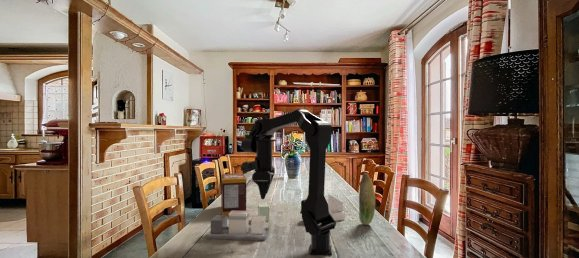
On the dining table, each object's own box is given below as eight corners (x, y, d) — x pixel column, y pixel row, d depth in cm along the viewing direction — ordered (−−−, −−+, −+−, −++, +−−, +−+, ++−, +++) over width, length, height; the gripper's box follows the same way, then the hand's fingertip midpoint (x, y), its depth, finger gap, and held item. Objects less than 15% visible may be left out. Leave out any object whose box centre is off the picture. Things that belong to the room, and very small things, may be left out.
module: (246, 234, 100) (246, 214, 100) (228, 234, 100) (228, 213, 100) (248, 230, 104) (248, 210, 104) (231, 230, 104) (231, 210, 104)
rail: (265, 240, 97) (265, 222, 97) (206, 238, 98) (206, 221, 98) (268, 231, 105) (268, 215, 105) (214, 230, 106) (214, 214, 106)
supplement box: (242, 205, 142) (243, 173, 142) (246, 214, 127) (246, 178, 127) (221, 206, 140) (221, 173, 140) (222, 215, 125) (222, 179, 125)
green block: (269, 221, 117) (269, 206, 117) (259, 221, 117) (259, 207, 117) (267, 217, 122) (267, 203, 122) (258, 218, 121) (258, 203, 121)
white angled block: (318, 213, 120) (328, 194, 121) (337, 223, 123) (347, 204, 124) (321, 215, 117) (331, 196, 118) (341, 226, 119) (351, 207, 120)
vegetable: (375, 223, 115) (375, 172, 115) (375, 228, 109) (375, 175, 109) (359, 222, 117) (359, 172, 117) (358, 227, 111) (358, 174, 111)
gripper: (246, 151, 116) (246, 190, 116) (237, 155, 98) (237, 202, 98) (274, 151, 116) (274, 191, 116) (270, 155, 97) (270, 202, 97)
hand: (264, 196), depth 107 cm, fingers open, 9 cm apart
